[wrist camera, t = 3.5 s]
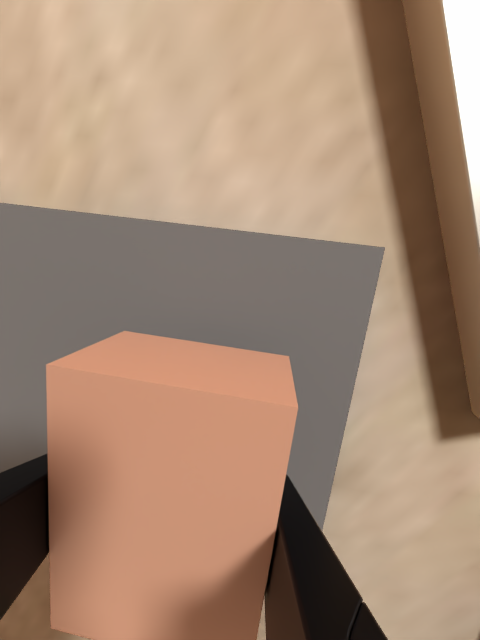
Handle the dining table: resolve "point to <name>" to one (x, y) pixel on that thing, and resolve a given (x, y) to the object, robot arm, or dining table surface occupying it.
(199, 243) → the mat
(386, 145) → the dining table surface
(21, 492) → the robot arm
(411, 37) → the picture frame
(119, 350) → the card deck
